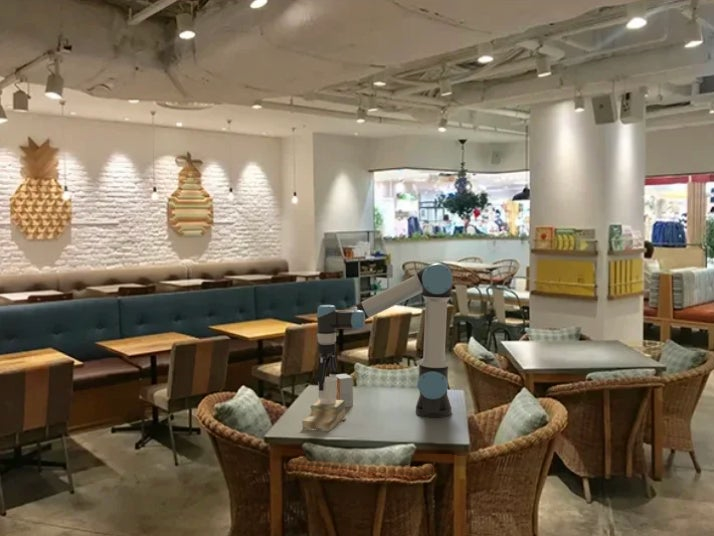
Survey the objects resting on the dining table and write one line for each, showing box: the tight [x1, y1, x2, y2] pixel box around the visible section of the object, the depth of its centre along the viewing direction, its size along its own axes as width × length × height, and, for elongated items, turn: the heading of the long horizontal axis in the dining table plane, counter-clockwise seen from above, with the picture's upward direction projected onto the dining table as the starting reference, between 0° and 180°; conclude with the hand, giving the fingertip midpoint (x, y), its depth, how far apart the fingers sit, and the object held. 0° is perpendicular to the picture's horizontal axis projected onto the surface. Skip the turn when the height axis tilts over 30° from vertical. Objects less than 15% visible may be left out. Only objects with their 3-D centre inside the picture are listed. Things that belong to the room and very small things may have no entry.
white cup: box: [317, 376, 337, 405], centre depth 268 cm, size 8×8×10 cm
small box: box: [336, 373, 354, 408], centre depth 290 cm, size 8×6×13 cm
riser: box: [301, 398, 347, 432], centre depth 264 cm, size 13×20×7 cm, turn 163°
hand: (327, 393), depth 268 cm, fingers open, 13 cm apart
